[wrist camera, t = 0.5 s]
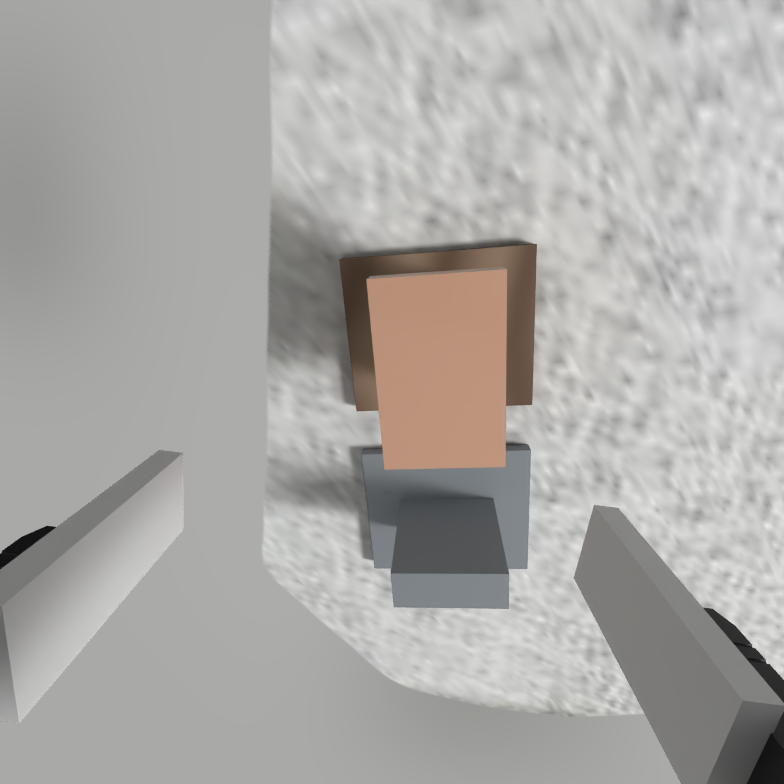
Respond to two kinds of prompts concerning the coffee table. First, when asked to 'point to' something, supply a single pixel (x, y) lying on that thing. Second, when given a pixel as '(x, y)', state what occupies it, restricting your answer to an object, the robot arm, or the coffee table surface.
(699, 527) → the coffee table surface
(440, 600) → the slate stand
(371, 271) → the walnut stand
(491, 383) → the terracotta tile
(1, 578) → the robot arm
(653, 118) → the coffee table surface
